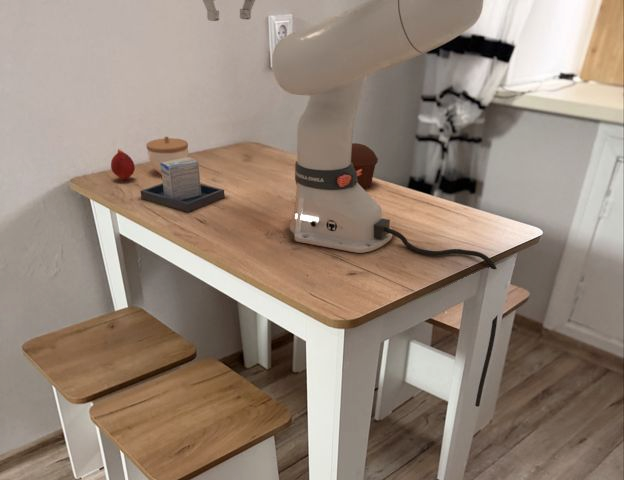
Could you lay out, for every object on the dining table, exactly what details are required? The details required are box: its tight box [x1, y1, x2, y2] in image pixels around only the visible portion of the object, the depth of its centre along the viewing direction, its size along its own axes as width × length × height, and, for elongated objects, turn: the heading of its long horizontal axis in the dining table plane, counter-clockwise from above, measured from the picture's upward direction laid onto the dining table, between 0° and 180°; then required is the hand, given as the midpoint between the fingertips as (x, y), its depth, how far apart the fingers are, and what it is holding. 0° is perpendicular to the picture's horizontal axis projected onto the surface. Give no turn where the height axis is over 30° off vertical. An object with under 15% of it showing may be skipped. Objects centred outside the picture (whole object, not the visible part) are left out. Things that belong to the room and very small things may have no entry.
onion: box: [110, 148, 136, 181], centre depth 154 cm, size 6×6×8 cm
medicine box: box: [160, 156, 201, 201], centre depth 143 cm, size 8×4×9 cm, turn 130°
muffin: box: [351, 142, 379, 190], centre depth 153 cm, size 12×11×10 cm
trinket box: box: [145, 136, 189, 176], centre depth 160 cm, size 11×11×9 cm
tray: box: [139, 182, 226, 213], centre depth 145 cm, size 16×13×2 cm
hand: (229, 19), depth 120 cm, fingers open, 8 cm apart
